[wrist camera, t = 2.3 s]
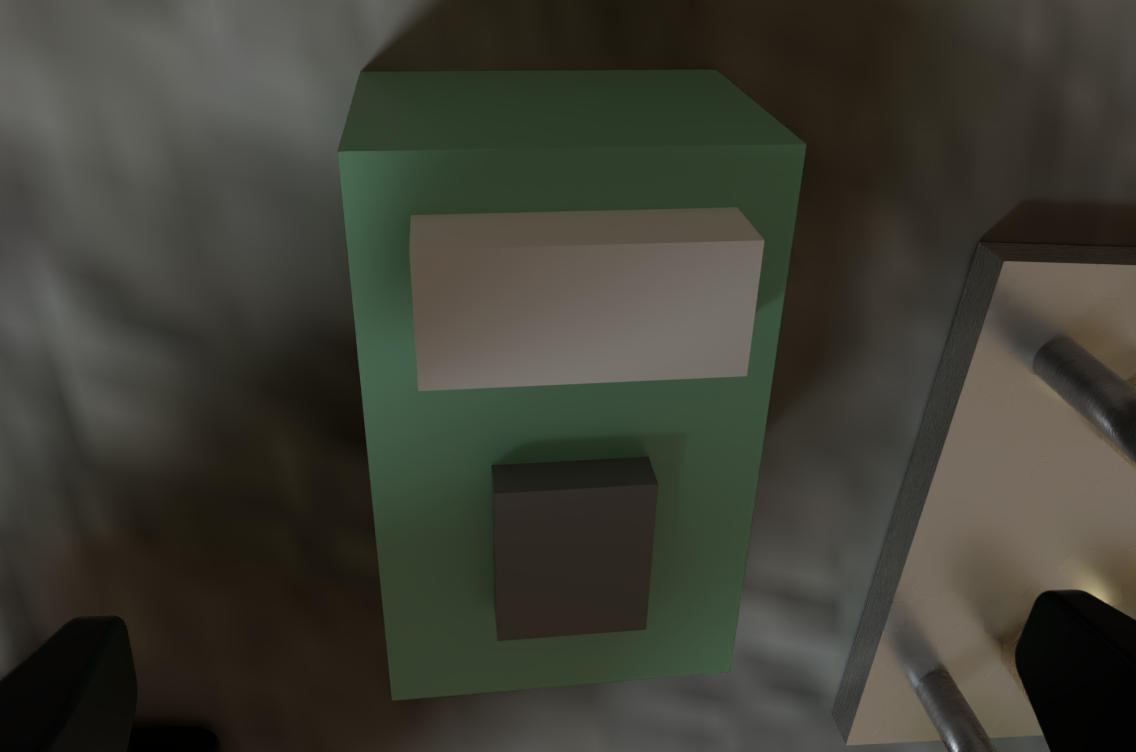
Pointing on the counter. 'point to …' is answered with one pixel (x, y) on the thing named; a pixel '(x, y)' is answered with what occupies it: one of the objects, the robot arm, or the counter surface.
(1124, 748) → the robot arm
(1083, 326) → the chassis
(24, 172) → the counter surface
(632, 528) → the green block
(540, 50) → the counter surface
